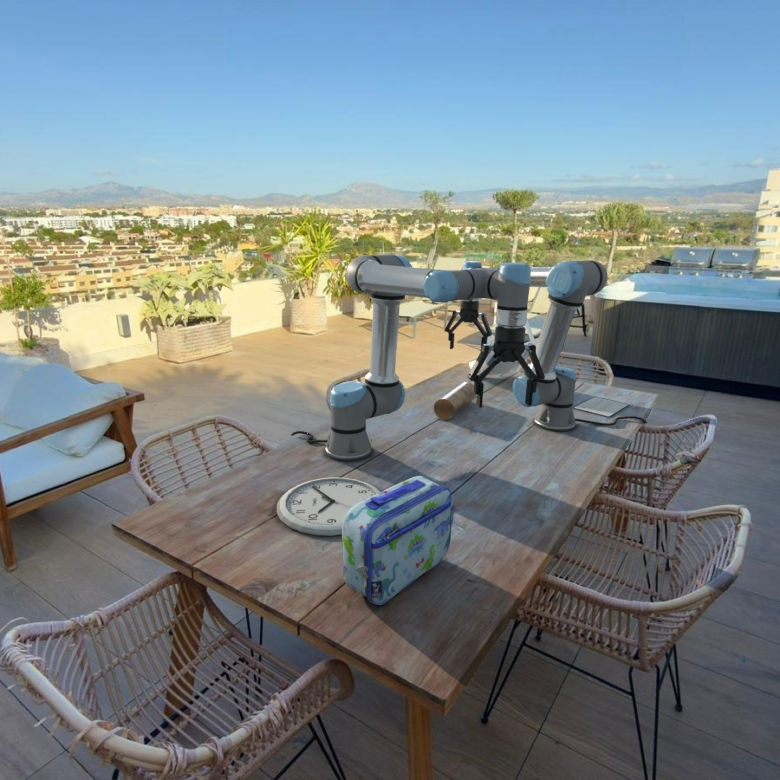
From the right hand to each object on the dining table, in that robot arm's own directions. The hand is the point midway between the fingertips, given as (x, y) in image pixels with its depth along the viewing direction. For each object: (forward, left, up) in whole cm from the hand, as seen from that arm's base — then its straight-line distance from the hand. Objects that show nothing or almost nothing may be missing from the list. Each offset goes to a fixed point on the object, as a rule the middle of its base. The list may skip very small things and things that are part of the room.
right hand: (466, 350), depth 221 cm
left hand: (-8, +85, +5) cm, 85 cm away
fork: (+7, +95, -24) cm, 98 cm away
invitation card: (-59, -5, -24) cm, 64 cm away
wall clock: (+37, +94, -24) cm, 104 cm away
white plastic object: (-22, -34, -24) cm, 47 cm away
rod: (+4, +10, -24) cm, 26 cm away
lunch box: (+16, +122, -24) cm, 126 cm away
